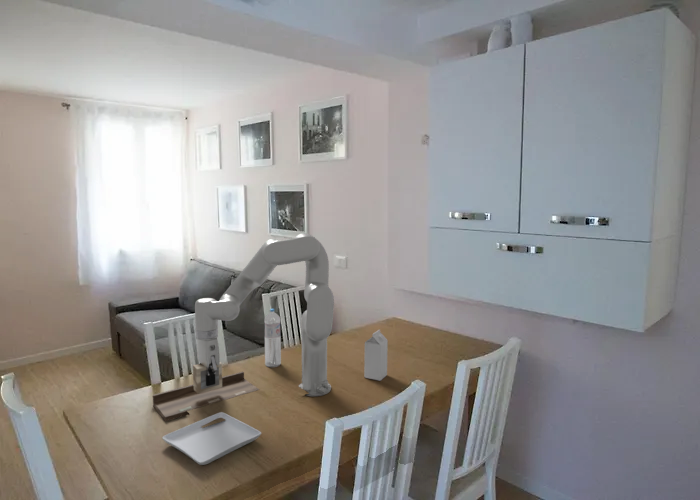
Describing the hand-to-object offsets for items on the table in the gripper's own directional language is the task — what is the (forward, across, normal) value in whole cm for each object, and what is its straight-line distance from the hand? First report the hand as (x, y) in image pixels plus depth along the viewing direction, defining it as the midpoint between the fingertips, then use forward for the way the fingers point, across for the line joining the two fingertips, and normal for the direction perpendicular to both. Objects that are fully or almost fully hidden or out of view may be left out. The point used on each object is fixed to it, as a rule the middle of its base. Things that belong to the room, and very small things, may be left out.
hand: (208, 382), depth 161 cm
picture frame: (+2, 0, 0) cm, 2 cm away
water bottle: (+7, +16, -35) cm, 39 cm away
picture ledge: (+7, +1, 0) cm, 7 cm away
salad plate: (+7, -28, +10) cm, 31 cm away
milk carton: (+7, -21, -62) cm, 66 cm away
